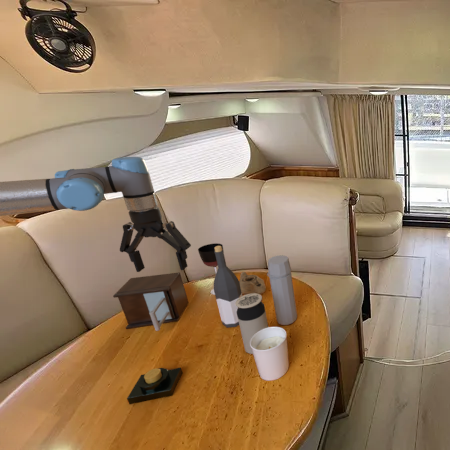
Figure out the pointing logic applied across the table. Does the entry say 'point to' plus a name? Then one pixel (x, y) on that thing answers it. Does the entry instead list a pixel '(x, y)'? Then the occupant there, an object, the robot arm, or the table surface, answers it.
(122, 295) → the cabinet
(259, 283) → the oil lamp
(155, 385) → the button block
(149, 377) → the button
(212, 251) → the wineglass
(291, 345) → the table surface
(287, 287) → the water bottle
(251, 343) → the candle holder
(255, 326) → the travel mug
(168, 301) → the glass door
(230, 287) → the wine bottle
